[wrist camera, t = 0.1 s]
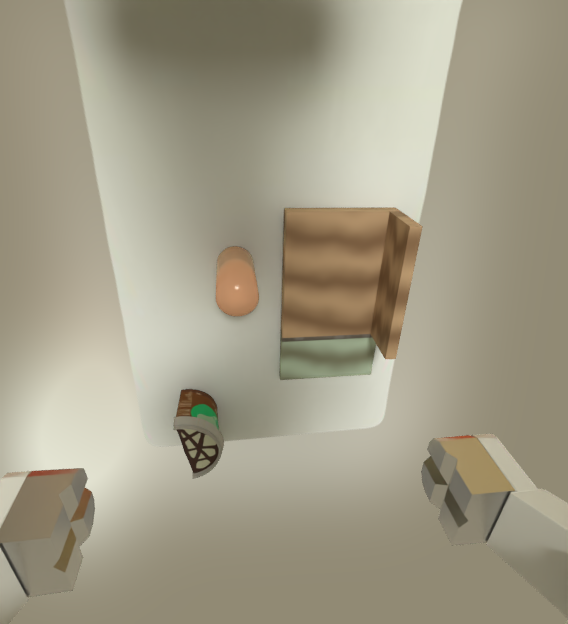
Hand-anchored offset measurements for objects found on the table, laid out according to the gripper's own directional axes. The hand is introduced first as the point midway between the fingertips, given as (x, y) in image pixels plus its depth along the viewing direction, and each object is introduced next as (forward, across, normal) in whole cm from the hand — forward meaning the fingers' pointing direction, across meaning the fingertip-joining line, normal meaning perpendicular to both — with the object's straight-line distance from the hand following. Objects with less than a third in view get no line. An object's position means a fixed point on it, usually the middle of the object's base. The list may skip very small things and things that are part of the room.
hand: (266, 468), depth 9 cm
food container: (+48, +6, +41) cm, 64 cm away
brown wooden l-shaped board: (+48, -15, +21) cm, 54 cm away
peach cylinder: (+48, 0, +14) cm, 50 cm away
